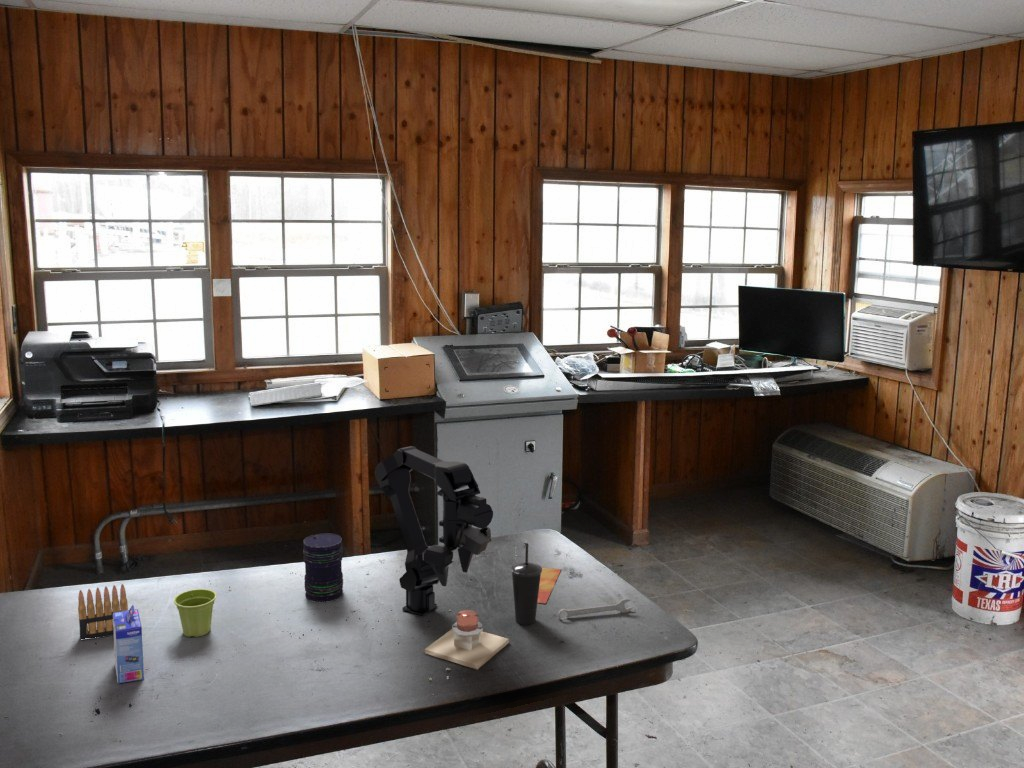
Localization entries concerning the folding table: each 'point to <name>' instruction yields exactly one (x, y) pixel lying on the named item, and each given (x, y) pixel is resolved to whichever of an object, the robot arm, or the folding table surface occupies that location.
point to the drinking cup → (526, 589)
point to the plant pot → (195, 611)
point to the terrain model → (547, 583)
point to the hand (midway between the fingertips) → (454, 578)
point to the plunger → (467, 624)
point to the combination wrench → (597, 609)
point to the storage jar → (323, 567)
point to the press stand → (467, 648)
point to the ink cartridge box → (128, 646)
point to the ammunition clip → (100, 612)
